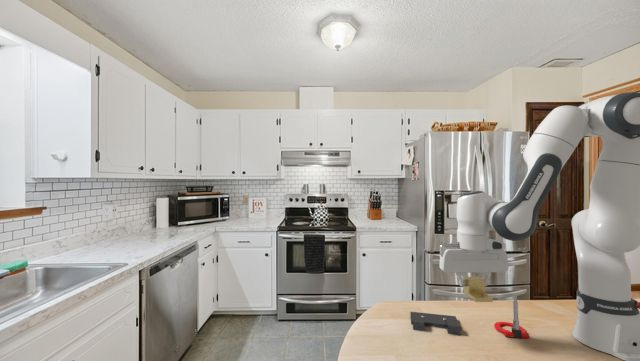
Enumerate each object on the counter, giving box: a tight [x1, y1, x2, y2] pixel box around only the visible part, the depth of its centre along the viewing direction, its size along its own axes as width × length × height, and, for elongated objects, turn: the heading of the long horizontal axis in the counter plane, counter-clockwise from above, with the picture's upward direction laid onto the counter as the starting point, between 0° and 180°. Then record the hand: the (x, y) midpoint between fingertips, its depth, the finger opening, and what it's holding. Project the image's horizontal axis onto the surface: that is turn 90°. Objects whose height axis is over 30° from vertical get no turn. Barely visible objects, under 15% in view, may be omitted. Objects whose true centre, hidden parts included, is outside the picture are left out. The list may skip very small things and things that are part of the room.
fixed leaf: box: [410, 311, 461, 336], centre depth 97 cm, size 15×10×3 cm
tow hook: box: [493, 294, 530, 339], centre depth 93 cm, size 8×13×9 cm
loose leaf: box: [462, 276, 494, 303], centre depth 89 cm, size 5×8×5 cm, turn 179°
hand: (473, 285), depth 91 cm, fingers closed on loose leaf, 5 cm apart
